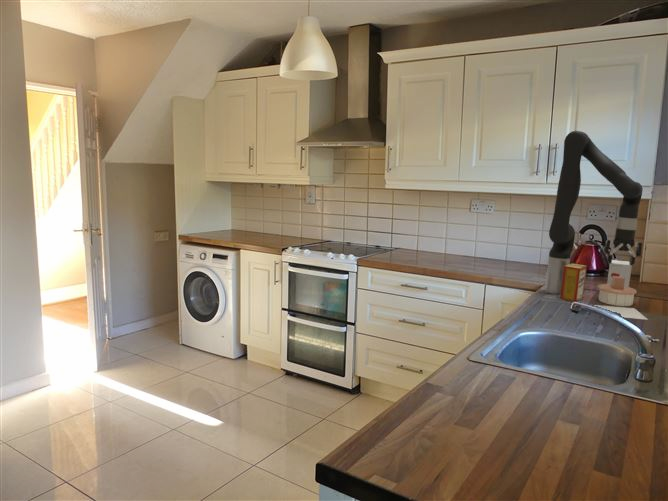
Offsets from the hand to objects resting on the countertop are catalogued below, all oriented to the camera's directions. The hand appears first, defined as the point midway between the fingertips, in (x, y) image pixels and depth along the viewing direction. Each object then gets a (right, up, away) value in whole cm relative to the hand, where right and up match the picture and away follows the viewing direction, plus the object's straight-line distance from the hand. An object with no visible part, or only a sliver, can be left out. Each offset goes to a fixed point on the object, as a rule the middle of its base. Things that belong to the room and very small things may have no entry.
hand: (620, 264), depth 220 cm
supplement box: (+12, -14, +24) cm, 30 cm away
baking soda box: (-18, -16, +7) cm, 26 cm away
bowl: (-1, -18, +3) cm, 18 cm away
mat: (-8, -20, -12) cm, 25 cm away
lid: (0, -12, +2) cm, 12 cm away
